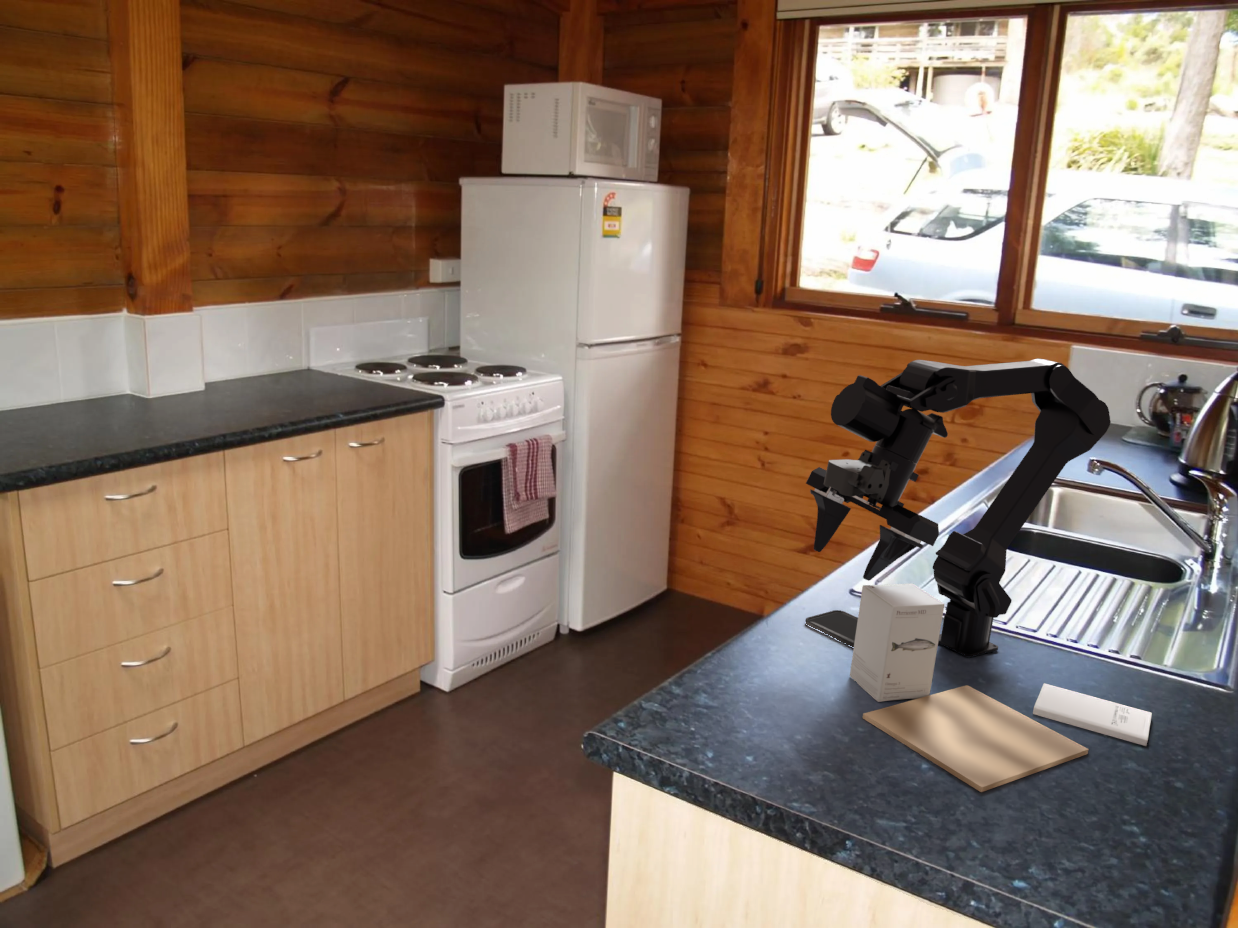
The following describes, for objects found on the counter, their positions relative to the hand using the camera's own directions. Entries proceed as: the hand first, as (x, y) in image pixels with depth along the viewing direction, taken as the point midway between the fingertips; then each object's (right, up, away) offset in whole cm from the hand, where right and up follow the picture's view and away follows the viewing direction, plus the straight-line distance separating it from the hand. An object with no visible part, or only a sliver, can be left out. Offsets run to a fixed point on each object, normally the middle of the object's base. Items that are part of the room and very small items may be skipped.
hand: (840, 564), depth 130 cm
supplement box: (+5, -15, -3) cm, 16 cm away
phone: (+5, -12, +12) cm, 18 cm away
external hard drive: (+29, -18, -7) cm, 35 cm away
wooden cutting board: (+12, -18, -14) cm, 26 cm away
